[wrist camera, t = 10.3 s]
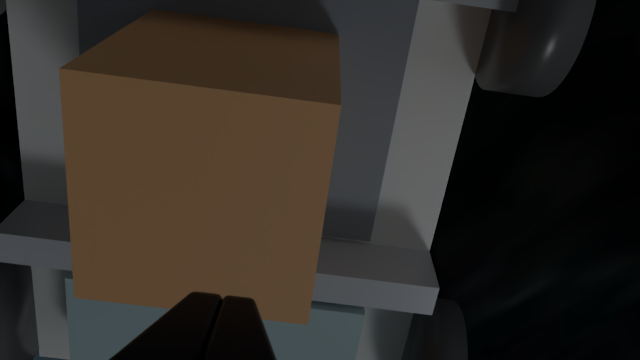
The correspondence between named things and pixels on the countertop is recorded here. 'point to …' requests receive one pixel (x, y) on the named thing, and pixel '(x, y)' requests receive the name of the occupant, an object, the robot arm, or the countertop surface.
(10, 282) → the chassis
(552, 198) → the countertop surface
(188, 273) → the brown cardboard cube
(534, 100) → the countertop surface
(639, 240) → the countertop surface
